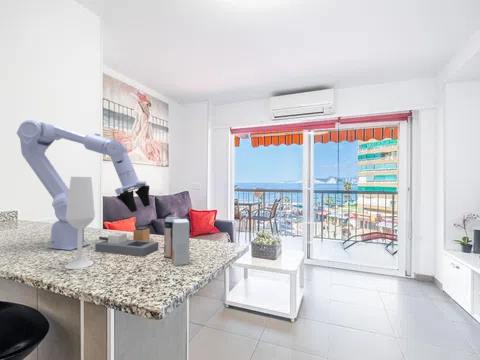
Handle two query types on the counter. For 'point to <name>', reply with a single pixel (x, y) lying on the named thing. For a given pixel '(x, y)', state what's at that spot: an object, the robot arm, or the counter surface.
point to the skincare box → (180, 242)
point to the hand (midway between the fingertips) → (141, 208)
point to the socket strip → (125, 245)
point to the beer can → (168, 236)
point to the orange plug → (141, 234)
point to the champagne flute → (80, 214)
